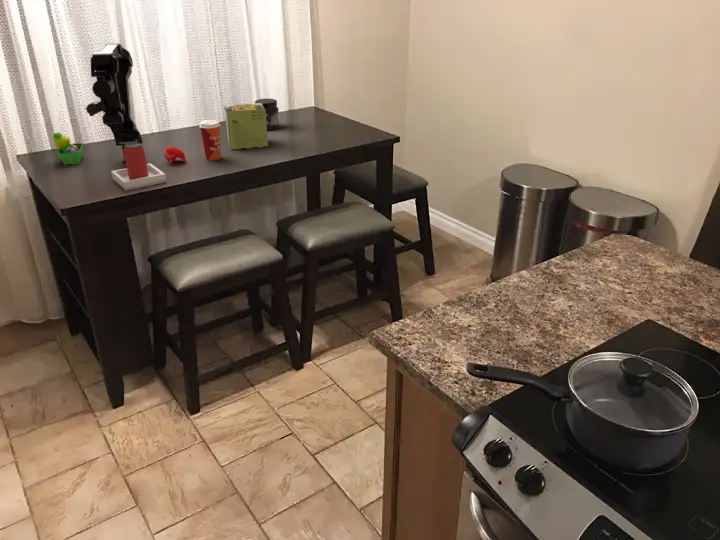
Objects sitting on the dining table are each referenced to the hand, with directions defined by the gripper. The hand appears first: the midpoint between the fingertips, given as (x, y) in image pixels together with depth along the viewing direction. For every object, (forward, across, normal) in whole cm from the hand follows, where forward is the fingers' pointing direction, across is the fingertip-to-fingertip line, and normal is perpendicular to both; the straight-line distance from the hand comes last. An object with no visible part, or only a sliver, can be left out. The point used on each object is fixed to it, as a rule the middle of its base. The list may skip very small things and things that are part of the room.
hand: (118, 137), depth 212 cm
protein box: (+13, -22, +47) cm, 54 cm away
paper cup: (+13, -8, +32) cm, 36 cm away
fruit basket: (+13, -20, -20) cm, 31 cm away
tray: (+13, +10, +5) cm, 17 cm away
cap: (+13, -7, +18) cm, 23 cm away
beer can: (+12, +10, +5) cm, 17 cm away
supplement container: (+13, -45, +59) cm, 75 cm away
